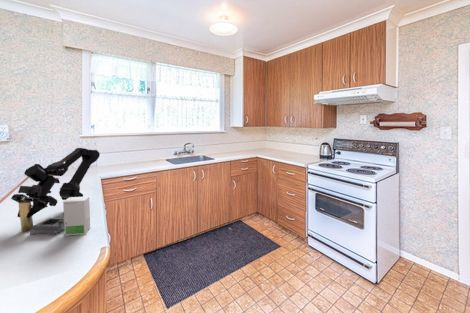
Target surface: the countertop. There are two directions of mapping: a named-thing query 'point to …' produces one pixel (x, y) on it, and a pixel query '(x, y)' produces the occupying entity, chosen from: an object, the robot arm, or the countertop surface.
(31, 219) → the brass pin
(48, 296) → the countertop surface
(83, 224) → the skincare box
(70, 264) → the countertop surface
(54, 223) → the gray open box
